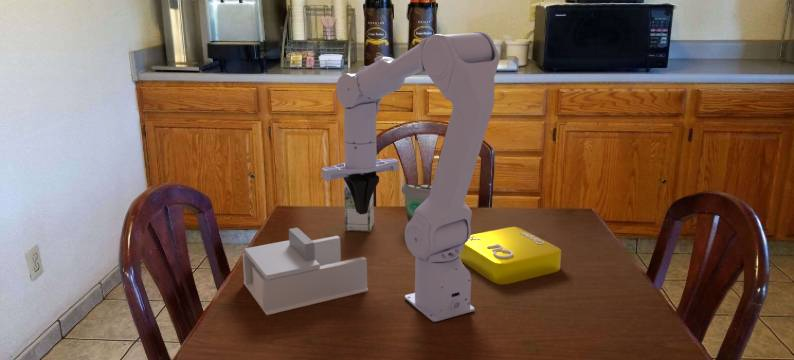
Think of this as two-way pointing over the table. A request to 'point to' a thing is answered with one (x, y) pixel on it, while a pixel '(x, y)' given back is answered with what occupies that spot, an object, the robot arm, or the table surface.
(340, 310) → the table surface
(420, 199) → the food container
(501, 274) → the element tile
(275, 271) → the lid
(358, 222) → the syrup box
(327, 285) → the housing
